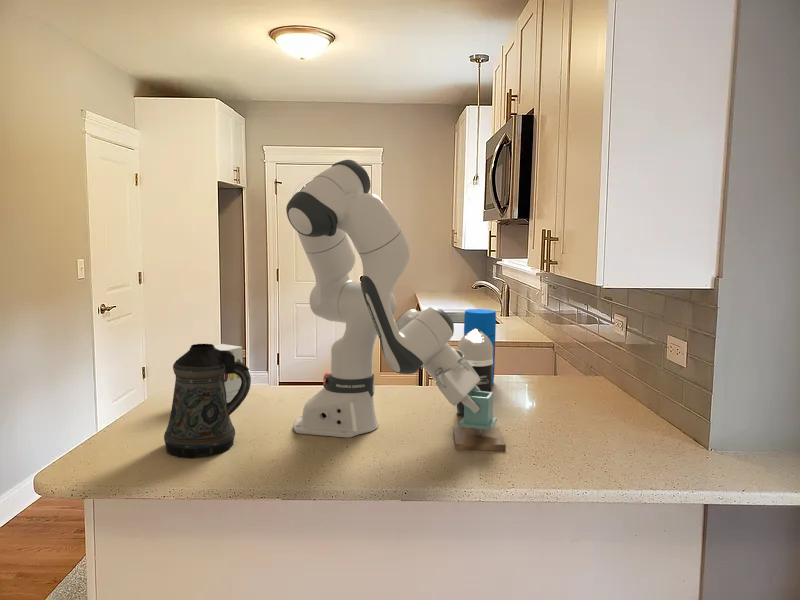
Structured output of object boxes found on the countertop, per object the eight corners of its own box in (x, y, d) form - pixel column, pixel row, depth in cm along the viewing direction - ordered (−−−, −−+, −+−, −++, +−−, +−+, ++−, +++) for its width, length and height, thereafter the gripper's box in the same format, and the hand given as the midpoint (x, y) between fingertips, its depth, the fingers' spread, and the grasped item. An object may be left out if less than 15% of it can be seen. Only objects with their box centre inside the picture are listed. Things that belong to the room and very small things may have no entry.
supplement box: (220, 407, 180) (219, 351, 178) (199, 402, 185) (197, 348, 183) (244, 399, 188) (243, 346, 186) (222, 395, 193) (221, 343, 191)
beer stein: (154, 444, 150) (150, 344, 147) (229, 428, 162) (227, 335, 159) (179, 464, 137) (175, 355, 134) (258, 445, 149) (256, 345, 146)
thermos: (477, 376, 220) (479, 308, 217) (500, 383, 212) (502, 311, 209) (456, 381, 213) (457, 310, 210) (479, 388, 205) (481, 314, 202)
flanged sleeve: (458, 426, 150) (459, 396, 149) (466, 417, 158) (466, 388, 157) (491, 430, 148) (492, 399, 147) (497, 420, 155) (497, 391, 154)
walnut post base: (455, 449, 148) (456, 425, 147) (452, 433, 160) (453, 410, 159) (505, 450, 148) (506, 426, 147) (498, 433, 160) (499, 411, 159)
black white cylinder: (498, 417, 174) (500, 330, 171) (466, 420, 170) (468, 332, 167) (480, 407, 183) (482, 324, 180) (449, 410, 179) (451, 326, 176)
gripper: (441, 365, 143) (481, 410, 141) (462, 349, 162) (497, 389, 160) (423, 382, 145) (462, 426, 143) (445, 364, 164) (480, 403, 162)
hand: (481, 406), depth 152 cm, fingers closed on flanged sleeve, 6 cm apart
